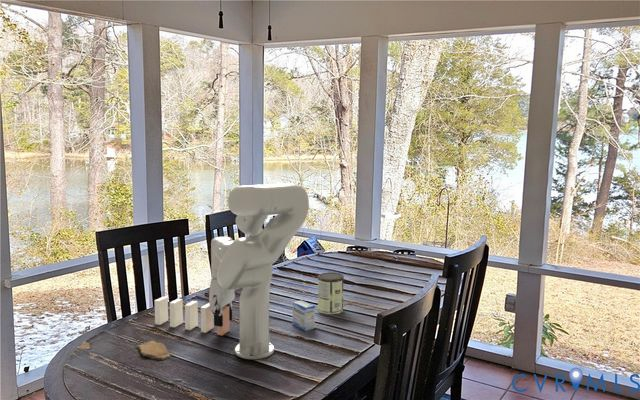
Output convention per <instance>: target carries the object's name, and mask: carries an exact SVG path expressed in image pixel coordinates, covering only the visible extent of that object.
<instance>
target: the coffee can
mask: <svg viewBox="0 0 640 400" xmlns="http://www.w3.org/2000/svg"><path fill="white" fill-rule="evenodd" d="M344 278H345V277H344V274H342V273H339V272H323V273H319V274H318V275H317V311H318V312H319V313H321V314H324V315H337V314H340V313H343V312H344Z"/></svg>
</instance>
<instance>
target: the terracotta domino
mask: <svg viewBox="0 0 640 400" xmlns="http://www.w3.org/2000/svg"><path fill="white" fill-rule="evenodd" d="M217 310H218V311H219V308H217ZM222 315H223V326H222V327H220V326H216V334H217V336H224V335H225V334H226V333H228V332H229V331H230V320H229V306H223V309H222Z"/></svg>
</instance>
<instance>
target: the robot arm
mask: <svg viewBox="0 0 640 400" xmlns="http://www.w3.org/2000/svg"><path fill="white" fill-rule="evenodd" d="M309 199H310V198H309V195H308V193H307V191H306V190H305V188H303V186H302V185H298V184H296V183H295V184H294V183H275V184H271V183H270V184H251V185H250V184H249V185H248V184H247V185H238V186H236V187H234V188H233V189H232V190H231V191H230V193H229V195H228V199H227V204H228V208H229V210H230V211H231V213H232V214H234V215H236V217H235V225H236V227H237V228H238V230H239V231H241V232H242V233H243V234H246V235H248V236H243V237H239V238H236V239H234V240H233V238H232V237H230V236H217V237H214V238H212V239H211V243H210V246H211V248H210V256H211V257H210V260H211V264H210V265H211V268H210V269H211V279H210V283H209V294H208V295H209V296H208V297H209V299H208V300H209V301H208V303H209V305H210V310H211V311H212V313H213V318H214V326H215V327H217V326H220V327H222V326H223V315H222V309H223V306H229V322H230V321H232V320H233V308H234V305H233V304H234V301H235V298H236V294H235V291H236V290H239V289H241V292H240V295H239V300H238V308H239V309H238V311H239V312H238V314H239V315H238V316H239V318H238V323H239V324H238V325H239V326H238V327H239V335H238V336H239V337H238V338H239V343H238V344H237V345H235V347H234V353H235V355H236V356H237V357H239V358H242V359H243V360H244V359H245V360H259V359H265V358H267V357H270V356H272V355H273V353H274V352H275V346H274V344H272V343H271V342H270V289H271V283H272V277H273V271H274V270H273V269H274V268H273V264H275V263H276V262H277V261H278V259H279V258H280V257H281V255H282V254H283V253H284V251H285V249H286V248H287V247H288V245H289V243H290V242H291V240H292V239H293V238H294V236H295V235H296V234H297V233H298V232H299V230H300V229H301V228H302V226H303V225H304V223H305V221H306V219H307V217H308V213H309V207H310V202H309V201H310V200H309ZM270 215H275V216H273V217H272V218H271V219H270V220H269V221H268V222H267V223H266V220H267V218H268V216H270ZM264 223H266V224H265V226H264ZM263 226H264V228H263ZM218 309H219V311H218Z"/></svg>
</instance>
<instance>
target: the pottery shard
mask: <svg viewBox="0 0 640 400" xmlns="http://www.w3.org/2000/svg"><path fill="white" fill-rule="evenodd" d="M135 348H136V349H137V350H139V351H140V352H139V353H140V354H141V355H142V356H144V357H148V358H150V359H153V360H159V361H162V360H167V359H169V358H170V357H171V354H170V353H169V351H168V349H167V346H166V345H165V344H164V343H162V342H156V340H150V341H146V342H144V343H142V344H141V343H140V344H138V345H135Z"/></svg>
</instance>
